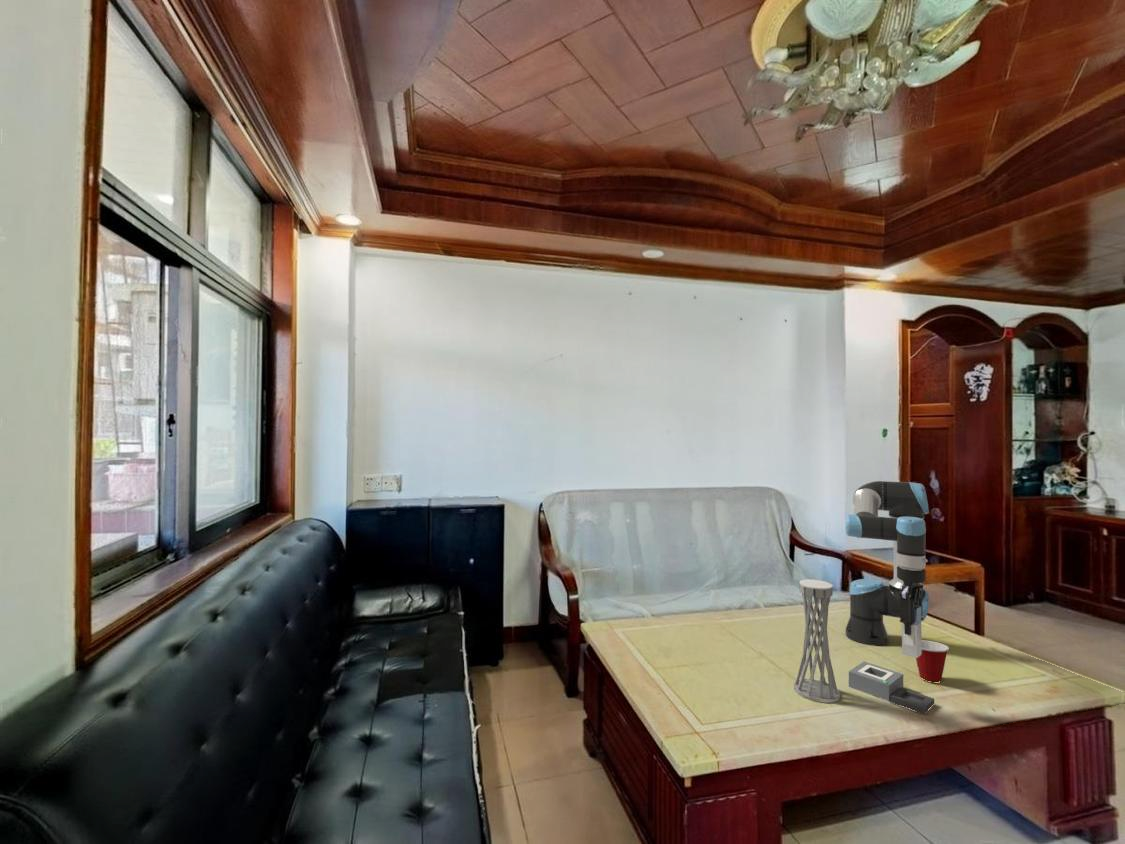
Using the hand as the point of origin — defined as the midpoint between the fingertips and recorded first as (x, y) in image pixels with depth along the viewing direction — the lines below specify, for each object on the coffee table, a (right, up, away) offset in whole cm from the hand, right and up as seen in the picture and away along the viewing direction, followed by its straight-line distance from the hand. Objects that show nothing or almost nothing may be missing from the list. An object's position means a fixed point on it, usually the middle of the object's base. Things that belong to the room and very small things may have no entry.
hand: (911, 642), depth 161 cm
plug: (0, -4, 0) cm, 4 cm away
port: (-5, -19, +9) cm, 22 cm away
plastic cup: (+17, -19, +15) cm, 30 cm away
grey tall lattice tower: (-26, -19, +7) cm, 33 cm away
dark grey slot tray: (0, -19, 0) cm, 19 cm away
